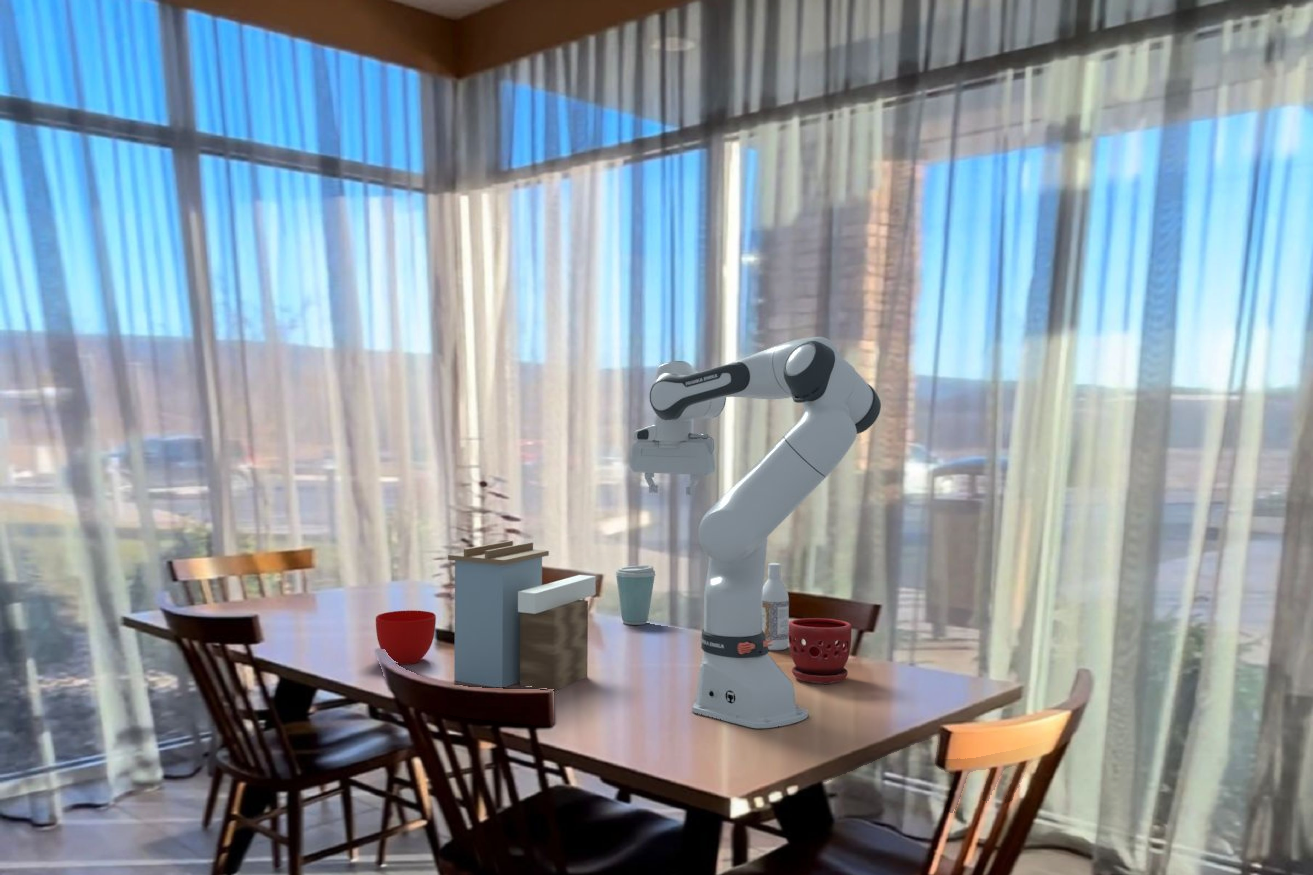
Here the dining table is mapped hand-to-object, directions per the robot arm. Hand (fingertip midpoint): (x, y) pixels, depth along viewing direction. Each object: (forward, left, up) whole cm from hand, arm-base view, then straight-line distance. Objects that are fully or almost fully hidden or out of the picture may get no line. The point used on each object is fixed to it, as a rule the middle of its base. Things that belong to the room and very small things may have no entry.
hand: (671, 493), depth 232 cm
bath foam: (-8, -25, -37) cm, 46 cm away
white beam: (-3, +32, -21) cm, 39 cm away
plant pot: (-34, -13, -37) cm, 52 cm away
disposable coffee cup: (+34, -15, -37) cm, 53 cm away
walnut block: (-4, +33, -37) cm, 50 cm away
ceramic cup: (+32, +51, -37) cm, 71 cm away
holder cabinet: (+6, +41, -37) cm, 56 cm away
